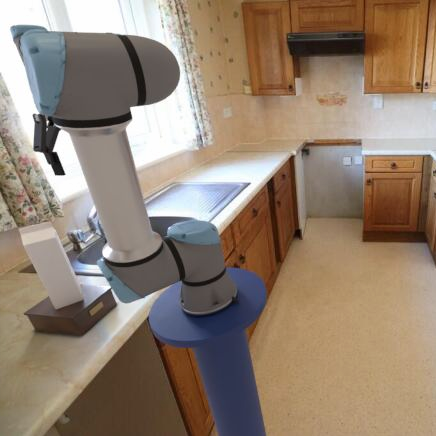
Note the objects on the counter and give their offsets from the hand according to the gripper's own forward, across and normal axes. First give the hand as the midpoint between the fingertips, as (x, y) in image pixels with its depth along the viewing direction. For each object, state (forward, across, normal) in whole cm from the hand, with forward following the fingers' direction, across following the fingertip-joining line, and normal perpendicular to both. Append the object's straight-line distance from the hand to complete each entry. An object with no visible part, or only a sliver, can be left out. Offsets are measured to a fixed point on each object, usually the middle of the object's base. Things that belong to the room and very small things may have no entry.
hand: (81, 168), depth 96 cm
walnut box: (+35, +24, +8) cm, 43 cm away
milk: (+29, +24, +8) cm, 38 cm away
